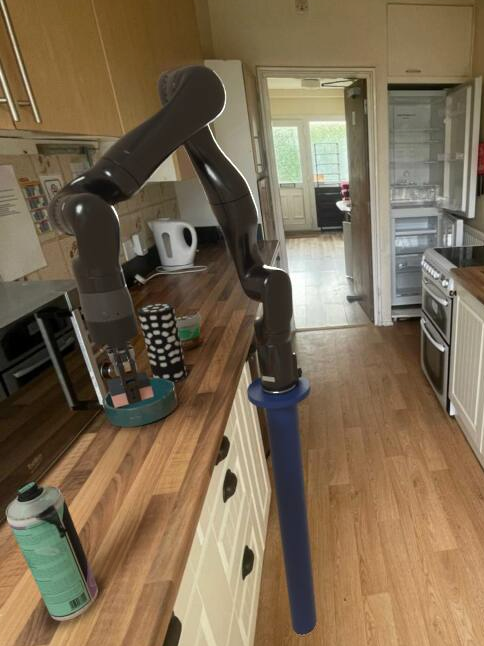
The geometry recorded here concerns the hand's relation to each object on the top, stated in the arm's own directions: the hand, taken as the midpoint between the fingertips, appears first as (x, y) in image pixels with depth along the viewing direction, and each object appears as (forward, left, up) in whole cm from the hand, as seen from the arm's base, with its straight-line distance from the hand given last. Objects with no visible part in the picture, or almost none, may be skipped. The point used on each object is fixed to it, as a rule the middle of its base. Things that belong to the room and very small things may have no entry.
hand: (132, 396), depth 81 cm
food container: (-20, -52, -14) cm, 58 cm away
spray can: (+14, +28, -14) cm, 34 cm away
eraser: (0, 0, 0) cm, 0 cm away
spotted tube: (-11, -34, -14) cm, 38 cm away
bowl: (-2, -19, -14) cm, 24 cm away
